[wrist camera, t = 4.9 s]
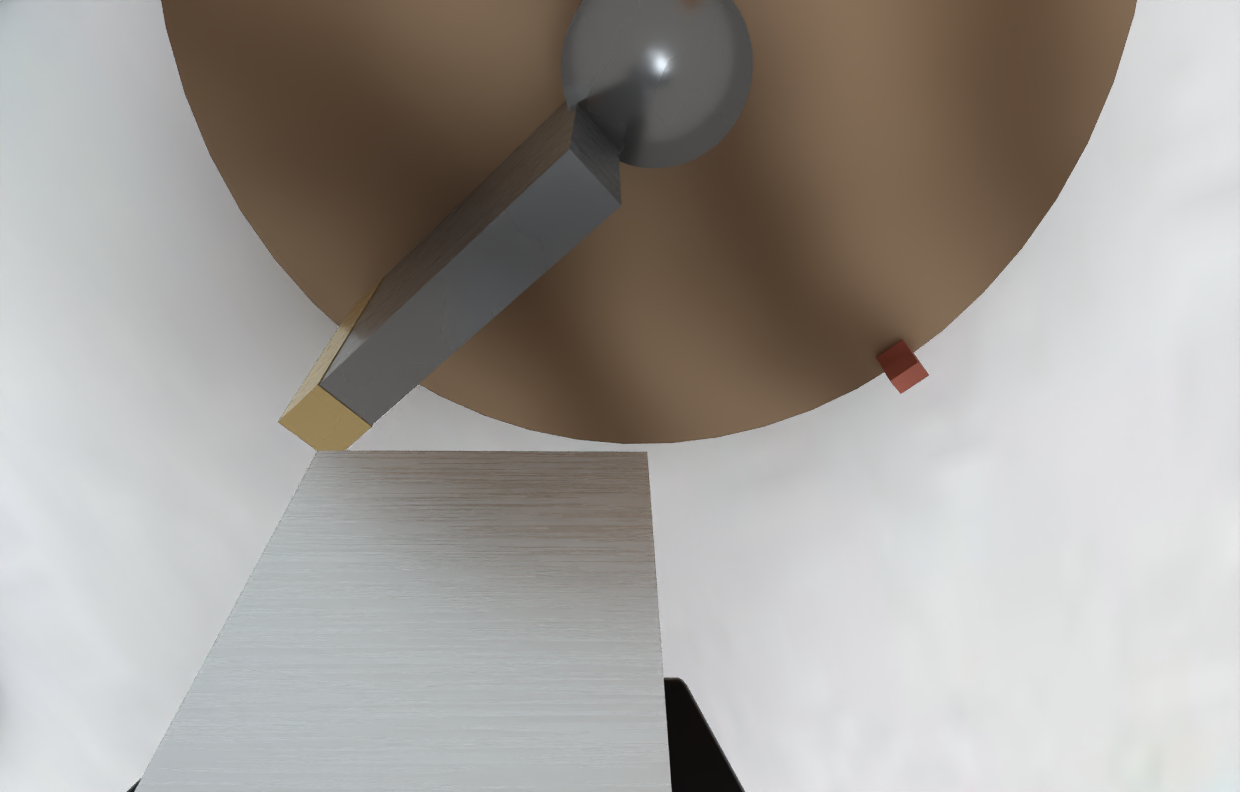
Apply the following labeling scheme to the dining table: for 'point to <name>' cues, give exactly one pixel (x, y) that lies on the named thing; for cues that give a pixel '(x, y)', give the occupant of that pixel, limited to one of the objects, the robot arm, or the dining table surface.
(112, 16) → the dining table surface
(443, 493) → the block
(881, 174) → the base
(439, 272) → the crank
